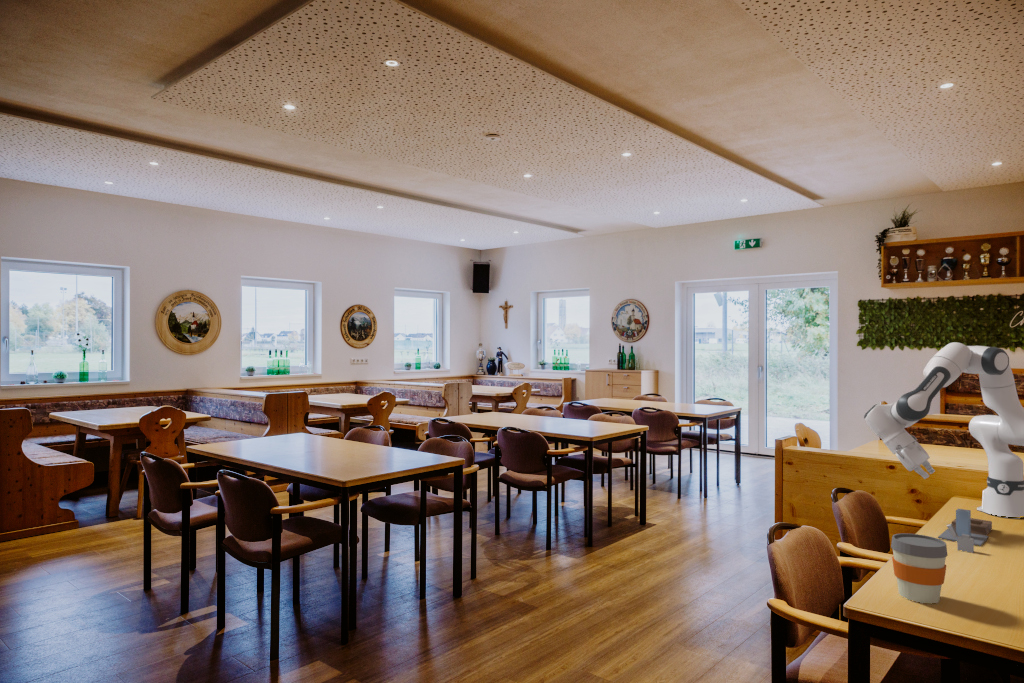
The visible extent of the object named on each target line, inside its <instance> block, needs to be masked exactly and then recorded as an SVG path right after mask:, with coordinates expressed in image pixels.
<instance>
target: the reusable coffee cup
mask: <svg viewBox="0 0 1024 683" xmlns="http://www.w3.org/2000/svg"><path fill="white" fill-rule="evenodd" d="M890 548H891V549H892V552H893V554H892V557H891V559H892V567H893V574H894V577H896V581H897V589H898V595H899V594H900V595H901V596H903V597H905V598H907V599H909V600H913V601H916V602H915V603H917V602H920V603H919V604H923V603H931V604H930V605H933V604H932V603H936V604H938V603H939V602H940V599H941V598H940V597H941V592H942V585H944V583H945V578H946V571H947V565H946V558H947V556H948V549H947V548H948V547H947V543H946V542H945V541H944V540H943V539H938V537H933V536H928V535H925V534H918V533H896V534H893V535H892V537H891V545H890ZM900 595H899V596H900ZM901 596H900V597H901ZM903 597H902V598H903ZM907 599H906V600H907ZM909 600H908V601H909ZM913 601H912V602H913Z"/></svg>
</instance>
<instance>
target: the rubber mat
mask: <svg viewBox="0 0 1024 683" xmlns="http://www.w3.org/2000/svg"><path fill="white" fill-rule="evenodd" d="M938 538H942V539H941V540H943V539H947V540H946V541H948V540H952V541H951V542H954V541H957V537H955V538H953V537H952V535H951V533H950V531H949V529H948V528H947V529H945V530H944V531H943V532H942V533H941V534H940V535H938V536H937V539H938ZM971 538H973V539H974V546H976V545H979V546H978V547H982V546H983V545H984V543H985V542H986V541H987V540H988V539H989V536H988V535H986V536H985V535H979V534H974V533H971ZM987 538H988V539H987ZM981 545H982V546H981Z"/></svg>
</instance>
